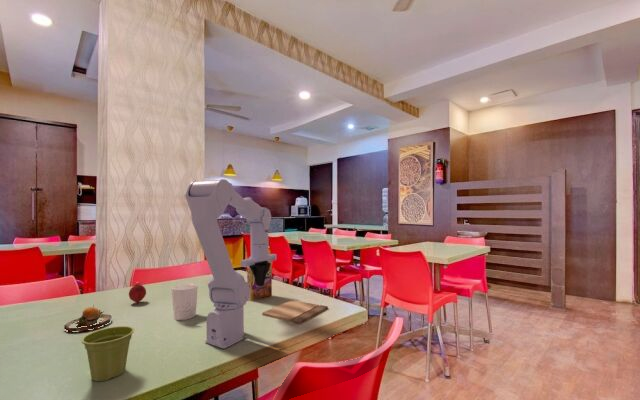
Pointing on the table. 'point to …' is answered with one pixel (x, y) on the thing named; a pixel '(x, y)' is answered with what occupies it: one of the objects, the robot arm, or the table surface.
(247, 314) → the table surface
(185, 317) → the white cup
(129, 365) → the table surface
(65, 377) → the table surface
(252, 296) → the candy box
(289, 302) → the oak click plank
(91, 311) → the fruit on decorative plate
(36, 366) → the table surface
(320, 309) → the laid walnut plank
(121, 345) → the plant pot
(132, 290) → the onion
